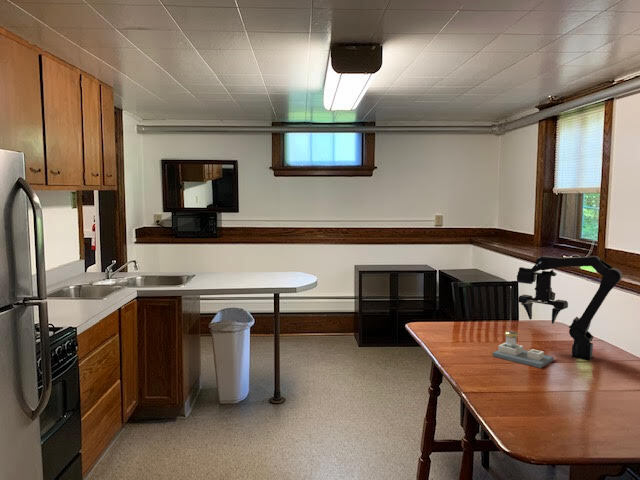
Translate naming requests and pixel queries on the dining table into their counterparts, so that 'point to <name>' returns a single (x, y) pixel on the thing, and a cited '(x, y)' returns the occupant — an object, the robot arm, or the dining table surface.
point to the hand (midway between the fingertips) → (541, 321)
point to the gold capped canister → (511, 339)
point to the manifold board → (523, 355)
